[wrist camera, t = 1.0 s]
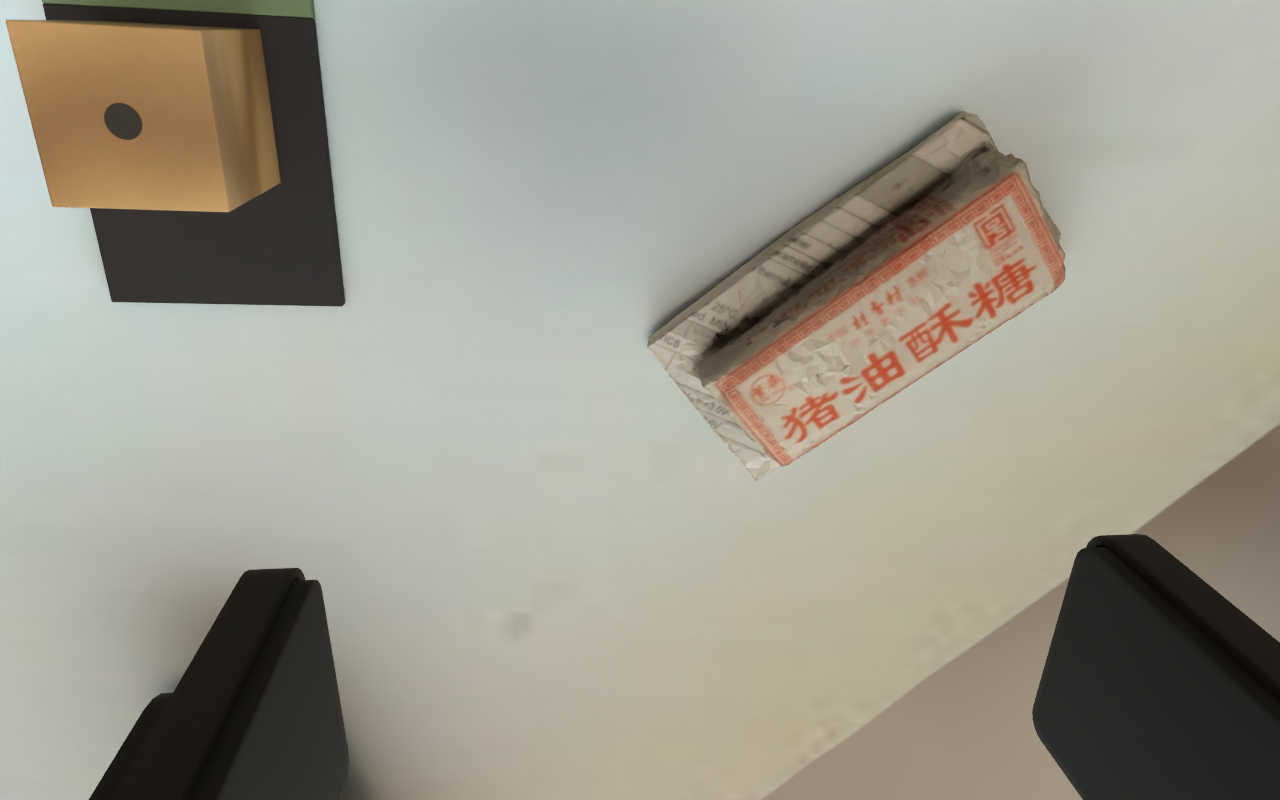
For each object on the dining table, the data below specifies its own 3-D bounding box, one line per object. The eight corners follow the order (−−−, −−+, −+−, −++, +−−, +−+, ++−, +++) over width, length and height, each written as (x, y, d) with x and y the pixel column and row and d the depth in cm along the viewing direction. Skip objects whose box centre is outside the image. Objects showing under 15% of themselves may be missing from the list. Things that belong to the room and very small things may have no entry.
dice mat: (-10, -253, 28) (-20, -257, 28) (289, -227, 29) (284, -231, 29) (116, 298, 36) (111, 302, 36) (345, 303, 37) (342, 306, 37)
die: (99, 20, 31) (2, 19, 26) (261, 29, 32) (200, 29, 27) (132, 178, 34) (50, 208, 28) (281, 183, 35) (229, 213, 29)
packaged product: (1018, 111, 32) (1110, 302, 36) (962, 101, 36) (1049, 271, 40) (651, 374, 35) (771, 522, 39) (640, 335, 39) (749, 472, 43)
